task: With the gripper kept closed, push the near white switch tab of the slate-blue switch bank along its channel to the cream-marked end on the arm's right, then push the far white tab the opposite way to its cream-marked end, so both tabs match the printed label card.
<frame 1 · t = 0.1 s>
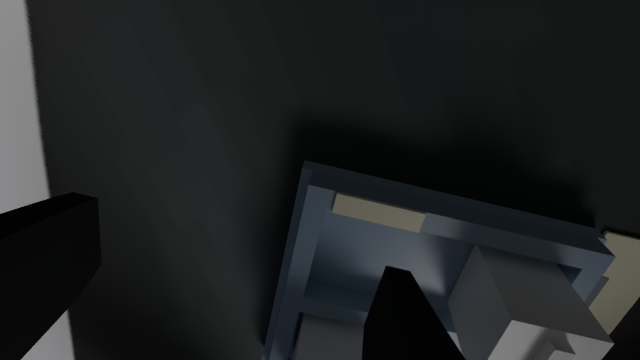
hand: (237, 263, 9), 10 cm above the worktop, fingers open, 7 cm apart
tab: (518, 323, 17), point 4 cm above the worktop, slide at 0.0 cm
switch bank: (407, 296, 22), on the worktop
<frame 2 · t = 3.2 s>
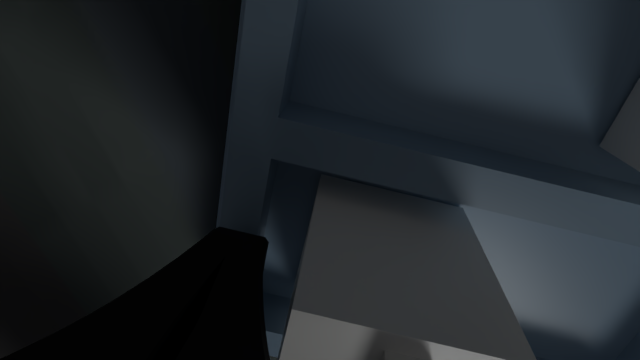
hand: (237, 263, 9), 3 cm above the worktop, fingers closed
switch bank: (496, 158, 11), on the worktop
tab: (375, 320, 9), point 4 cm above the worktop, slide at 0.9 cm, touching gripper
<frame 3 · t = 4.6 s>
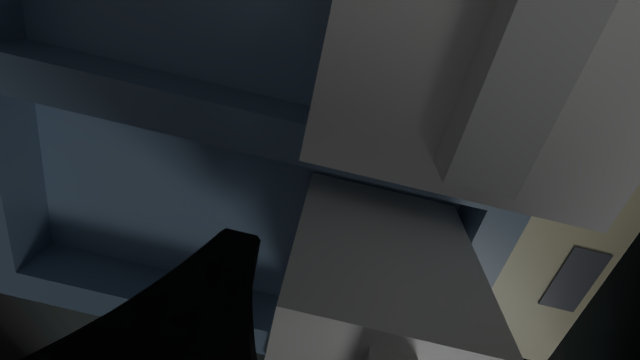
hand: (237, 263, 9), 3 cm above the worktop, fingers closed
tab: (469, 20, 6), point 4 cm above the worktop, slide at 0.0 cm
switch bank: (263, 102, 11), on the worktop
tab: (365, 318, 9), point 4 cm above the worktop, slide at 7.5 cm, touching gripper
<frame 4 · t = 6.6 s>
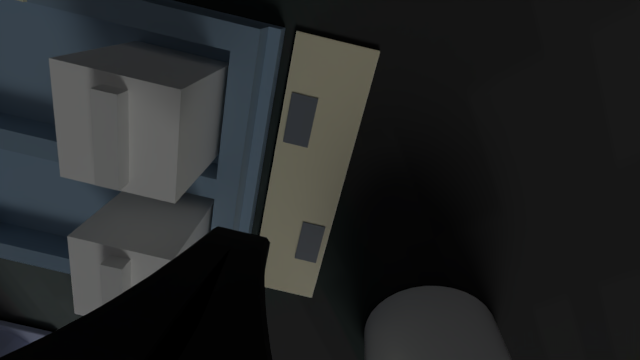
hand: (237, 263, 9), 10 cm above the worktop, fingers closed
pill bottle: (428, 332, 23), on the worktop
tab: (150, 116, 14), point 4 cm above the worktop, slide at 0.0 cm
switch bank: (114, 139, 19), on the worktop
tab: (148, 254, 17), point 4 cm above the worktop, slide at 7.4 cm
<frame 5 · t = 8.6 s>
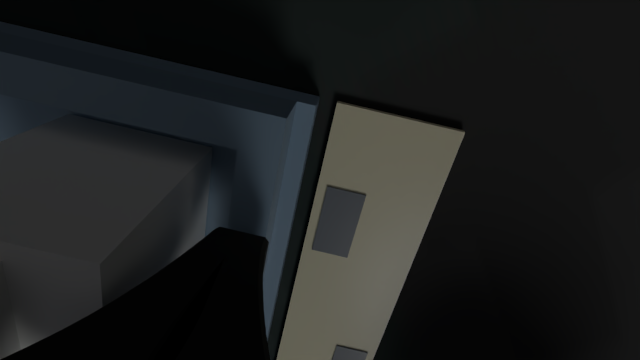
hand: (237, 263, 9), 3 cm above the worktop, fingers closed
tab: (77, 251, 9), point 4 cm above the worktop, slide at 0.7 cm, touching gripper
switch bank: (75, 238, 14), on the worktop
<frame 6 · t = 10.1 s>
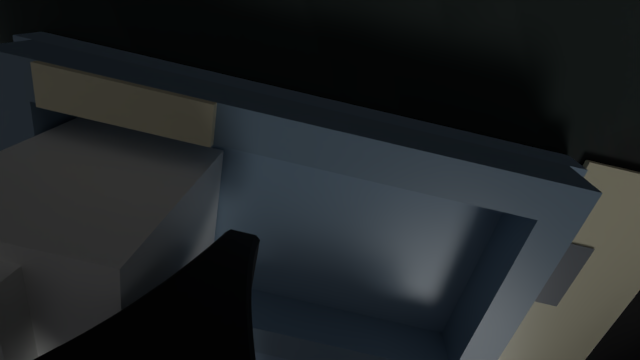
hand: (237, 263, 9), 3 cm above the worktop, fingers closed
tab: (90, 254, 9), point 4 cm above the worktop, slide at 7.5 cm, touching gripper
switch bank: (269, 283, 14), on the worktop
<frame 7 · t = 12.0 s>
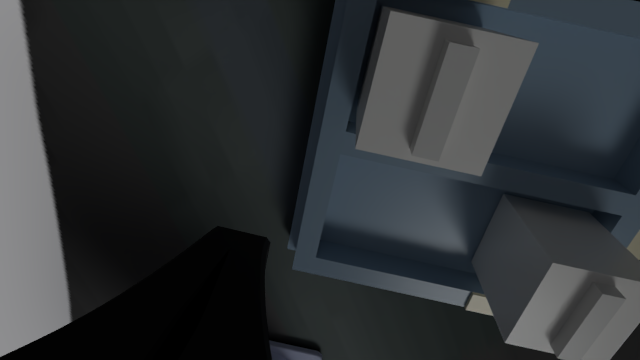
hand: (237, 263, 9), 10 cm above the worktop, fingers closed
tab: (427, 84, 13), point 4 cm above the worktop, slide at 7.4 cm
switch bank: (470, 151, 18), on the worktop
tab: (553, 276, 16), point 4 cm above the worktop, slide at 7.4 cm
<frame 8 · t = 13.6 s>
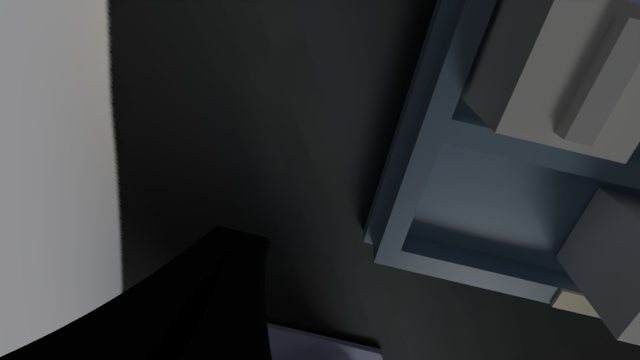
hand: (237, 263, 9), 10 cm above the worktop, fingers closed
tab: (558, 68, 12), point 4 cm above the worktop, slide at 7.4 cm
switch bank: (563, 144, 17), on the worktop
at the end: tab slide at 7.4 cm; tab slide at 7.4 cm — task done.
